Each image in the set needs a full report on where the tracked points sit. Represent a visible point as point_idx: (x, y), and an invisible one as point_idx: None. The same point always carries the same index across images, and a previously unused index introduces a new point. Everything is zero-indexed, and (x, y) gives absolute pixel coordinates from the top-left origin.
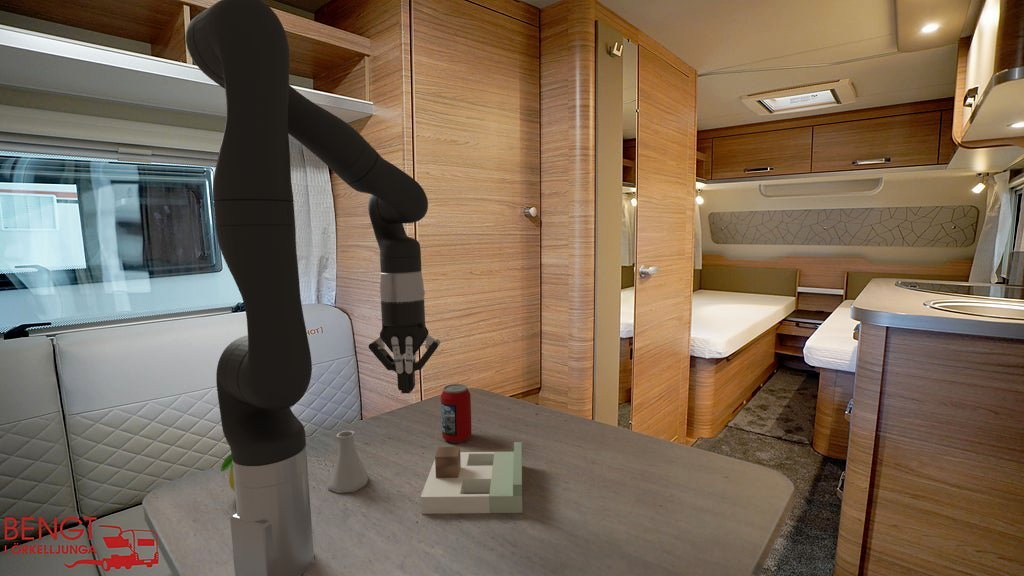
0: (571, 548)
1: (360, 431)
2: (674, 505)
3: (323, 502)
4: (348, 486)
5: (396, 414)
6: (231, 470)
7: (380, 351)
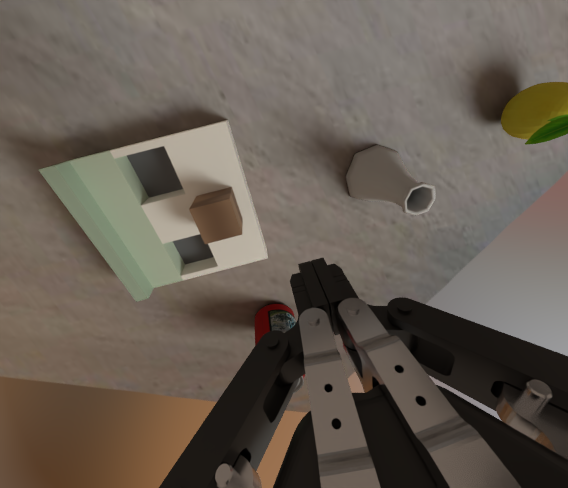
0: None
1: None
2: None
3: (389, 117)
4: (367, 154)
5: None
6: None
7: (510, 368)
